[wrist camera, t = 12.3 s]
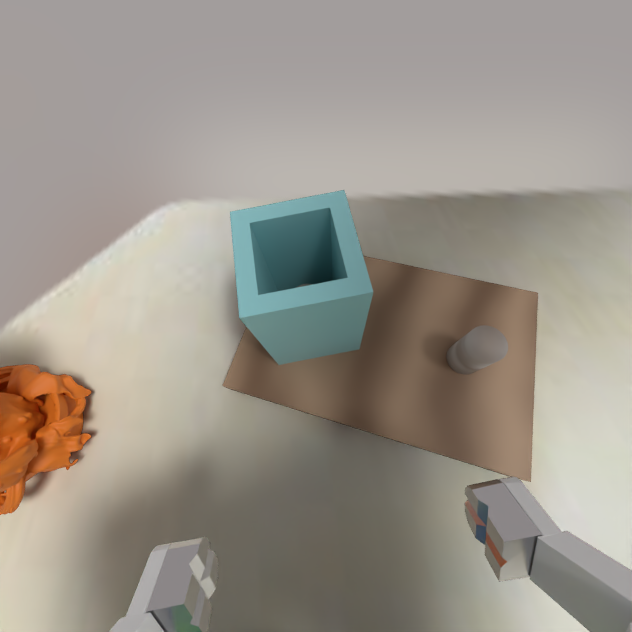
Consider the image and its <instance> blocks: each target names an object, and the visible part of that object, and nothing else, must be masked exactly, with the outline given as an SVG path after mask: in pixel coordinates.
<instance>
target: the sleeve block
mask: <svg viewBox="0 0 632 632" xmlns="http://www.w3.org/2000/svg"><path fill="white" fill-rule="evenodd" d="M230 218H231V229H232V241H233V252H234V263H235V275H236V286H237V297H238V309H239V318H240V319H241V321H242V322H243V323H244V324H245V325H246V327H247V328H248V329H249V330H250V331H251V333H252V334H253V335H254V336H255V337H256V338H257V340H258V341H259V342H260V343H261V344H262V346H263V347H264V348H265V349H266V350H267V352H268V353H269V354H270V355H271V356H272V358H273V359H274V360H275V361H276V362H277V363H278V365H281V364H286V363H292V362H297V361H302V360H307V359H312V358H317V357H322V356H327V355H333V354H338V353H343V352H348V351H353V350H358V349H360V345H361V341H362V336H363V332H364V328H365V324H366V320H367V316H368V312H369V308H370V304H371V300H372V296H373V289H372V285H371V282H370V278H369V275H368V271H367V268H366V264H365V261H364V257H363V254H362V250H361V247H360V243H359V240H358V236H357V233H356V229H355V226H354V222H353V219H352V215H351V212H350V208H349V205H348V201H347V198H346V194H345V191H344V190H341V191H337V192H331V193H326V194H320V195H315V196H310V197H305V198H300V199H295V200H289V201H284V202H279V203H274V204H269V205H263V206H258V207H253V208H248V209H243V210H238V211H232V212H230ZM302 284H312V285H308V286H303V287H297V286H299V285H302ZM296 287H297V288H296Z"/></svg>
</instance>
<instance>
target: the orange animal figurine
mask: <svg viewBox="0 0 632 632" xmlns="http://www.w3.org/2000/svg"><path fill="white" fill-rule="evenodd" d="M90 394H91V391H90V390H88V389H86V388H84V387H83V386H82V385H78V384H77V383H76V382H75V381H74V380H73V379H72V376H68V375H66V374H63V375H59V376H58V375H52V374H50V373H48V372H41V371H40V369H39V367H38V366H36V365H29V364H25V365H15V366H6V367H1V368H0V515H1V514H7V513H12V512H14V511H15V510H16V509H17V508H18V506H19V504H20V503H21V500H22V498H23V496H24V491H25V482H26V481H27V480H29V479H30V478H32V477H33V476H34V475H35V474H37V473H39V472H48V471H53V470H56V469H59V468H63V467H66V469H67V470H68V469H69V468H70V466H73V465H74V464H75V463H76V462H77V461H78V459H76V460H74V461H73V463H70V461H69V457H70V456H71V454H70V452H74V451H78V450H81V449H82V448H83V445H84V444H85V442H86V441H87V440H88V439H90V438H91V435H90V434H87V433H83V434H81V432H82V428H83V413H82V412H83V410H84V408H85V405H86V399H85V396H89V395H90ZM5 490H6V493H5V492H4V491H5Z"/></svg>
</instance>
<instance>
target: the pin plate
mask: <svg viewBox="0 0 632 632" xmlns="http://www.w3.org/2000/svg"><path fill="white" fill-rule="evenodd" d="M363 257H364V261H365V264H366V268H367V271H368V275H369V278H370V282H371V285H372V289H373V296H372V300H371V304H370V308H369V312H368V316H367V320H366V324H365V328H364V332H363V336H362V341H361V345H360V349H358V350H353V351H348V352H343V353H338V354H333V355H327V356H322V357H317V358H312V359H307V360H302V361H297V362H292V363H286V364H281V365H278V363H277V362H276V361H275V360H274V359H273V358H272V356H271V355H270V354H269V353H268V352H267V350H266V349H265V348H264V347H263V346H262V344H261V343H260V342H259V341H258V340H257V338H256V337H255V336H254V335H253V334H252V333H251V331H250V330H249V329H248V328H247V327H246V329H245V331H244V334H243V336H242V339H241V341H240V344H239V346H238V349H237V351H236V354H235V356H234V359H233V361H232V364H231V366H230V369H229V371H228V374H227V376H226V379H225V381H224V384H223V386H224V387H226V388H229V389H232V390H235V391H238V392H241V393H245V394H248V395H251V396H254V397H257V398H261V399H264V400H267V401H270V402H273V403H277V404H280V405H283V406H286V407H289V408H293V409H296V410H299V411H302V412H306V413H309V414H312V415H315V416H318V417H322V418H325V419H328V420H331V421H334V422H338V423H341V424H344V425H347V426H350V427H354V428H357V429H360V430H363V431H366V432H370V433H373V434H376V435H379V436H382V437H386V438H389V439H392V440H395V441H398V442H402V443H405V444H408V445H411V446H415V447H418V448H421V449H424V450H427V451H431V452H434V453H437V454H440V455H443V456H447V457H450V458H453V459H456V460H459V461H463V462H466V463H469V464H472V465H475V466H479V467H482V468H485V469H488V470H491V471H495V472H498V473H501V474H504V475H507V476H511V477H517V478H518V479H521V480H525V481H529V482H531V461H532V435H533V409H534V383H535V357H536V331H537V305H538V293H536V292H531V291H527V290H522V289H517V288H512V287H508V286H503V285H498V284H494V283H489V282H484V281H479V280H475V279H470V278H465V277H460V276H456V275H451V274H446V273H442V272H437V271H432V270H427V269H423V268H418V267H413V266H408V265H404V264H399V263H394V262H390V261H385V260H380V259H375V258H371V257H366V256H363ZM308 285H312V284H302V285H299V286H297V287H303V286H308ZM297 287H296V288H297Z"/></svg>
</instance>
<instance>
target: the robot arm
mask: <svg viewBox="0 0 632 632" xmlns="http://www.w3.org/2000/svg"><path fill="white" fill-rule="evenodd" d="M465 495H466V496H467V498H468V500H467V501H466V502H465V514H466V517H467V521H468V523H469V526H470V528H471V530H472V532H473V534H474V536H475V538H476V539H478V540H479V541H480V542H482V543H483V544H484V545H485V556H486V558H487V560H488V562H489V564H490V566H491V568H492V569H493V571H494V573H495V575H496V577H497V579H498V580H499V582H501V581H507V580H513V579H519V578H526V577H530V580H532V581H533V582H534V583H535V584H536V585H537V586H538V587H540V588H541V589H542V590H543V591H544V592H545V593H546V594H548V595H549V596H550V597H551V598H552V599H553V600H554V601H556V602H557V603H558V604H559V605H560V606H561V607H562V608H564V609H565V610H566V611H567V612H568V613H569V614H570V615H572V616H573V617H574V618H575V619H576V620H577V621H578V622H580V623H581V624H582V625H583V626H584V627H585V628H586V629H588V630H589V631H590V632H632V570H630V569H628V568H627V567H625V566H623V565H622V564H620V563H619V562H617V561H615V560H614V559H612V558H610V557H609V556H607V555H606V554H604V553H602V552H601V551H599V550H597V549H596V548H594V547H593V546H591V545H589V544H588V543H586V542H584V541H583V540H581V539H580V538H578V537H576V536H575V535H573V534H571V533H570V532H568V531H564V532H562V531H561V530H560V529H559V527H558V526H557V525H556V524H555V522H554V521H553V520H552V519H551V517H550V516H549V515H548V514H547V513H546V511H545V510H544V509H543V508H542V506H541V505H540V504H539V503H538V501H537V500H536V499H535V498H534V496H533V495H532V494H531V493H530V492H529V490H528V489H527V488H526V487H525V485H524V484H523V483H522V482H521V480H519V479H518V478H517V477H508V478H504V479H499V480H497V479H496V480H492V481H487V482H482V483H478V484H473V485H469V486H467V487H466V488H465ZM209 546H210V542H209V540H208V538H207V537H201V538H196V539H190V540H185V541H180V542H173V543H168V544H163V545H158V546H155V548H154V549H153V550H152V552H151V553H150V556H149V558H148V561H147V563H146V566H145V568H144V571H143V573H142V576H141V578H140V581H139V584H138V586H137V589H136V591H135V594H134V596H133V599H132V601H131V604H130V606H129V609H128V611H127V614H126V616H125V617H122V618H120V619H119V620H118V621H117V622H116V624H115V625H114V626H113V627H112V628H111V630H110V631H109V632H208V627H209V622H210V617H211V612H212V606H211V603H210V600H209V598H210V597H211V595H212V594H213V592H214V591H215V589H216V586H217V580H218V559H217V556H216V554H215V552H214V551H212V550H210V549H209Z"/></svg>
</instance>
